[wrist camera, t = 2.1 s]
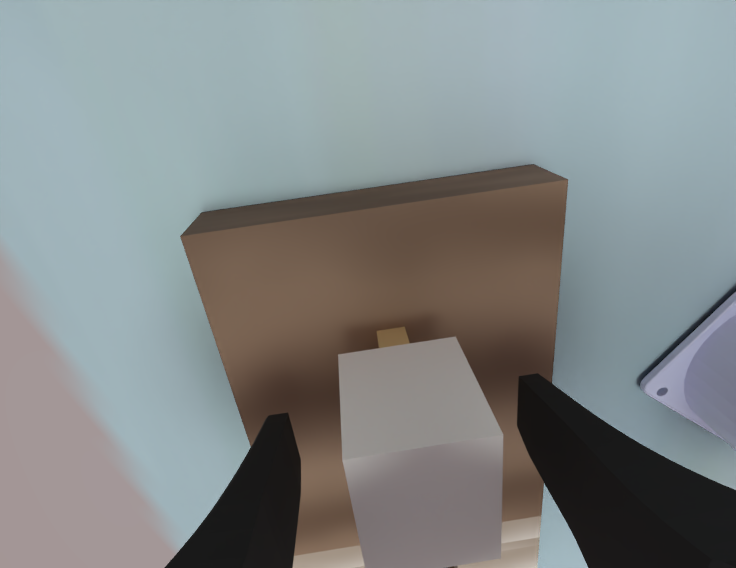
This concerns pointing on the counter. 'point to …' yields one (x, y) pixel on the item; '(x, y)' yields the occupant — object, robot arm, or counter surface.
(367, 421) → the plug
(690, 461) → the counter surface
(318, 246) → the socket board
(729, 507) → the robot arm
